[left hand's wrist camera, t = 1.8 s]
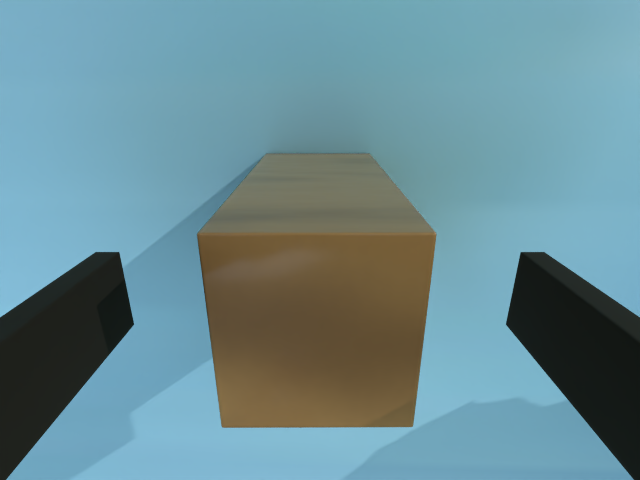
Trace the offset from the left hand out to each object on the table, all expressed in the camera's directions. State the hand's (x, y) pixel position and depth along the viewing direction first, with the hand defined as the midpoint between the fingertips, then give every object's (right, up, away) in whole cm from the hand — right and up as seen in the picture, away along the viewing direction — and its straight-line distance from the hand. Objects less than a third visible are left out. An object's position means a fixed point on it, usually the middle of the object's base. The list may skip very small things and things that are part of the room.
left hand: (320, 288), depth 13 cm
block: (0, +3, +8) cm, 8 cm away
